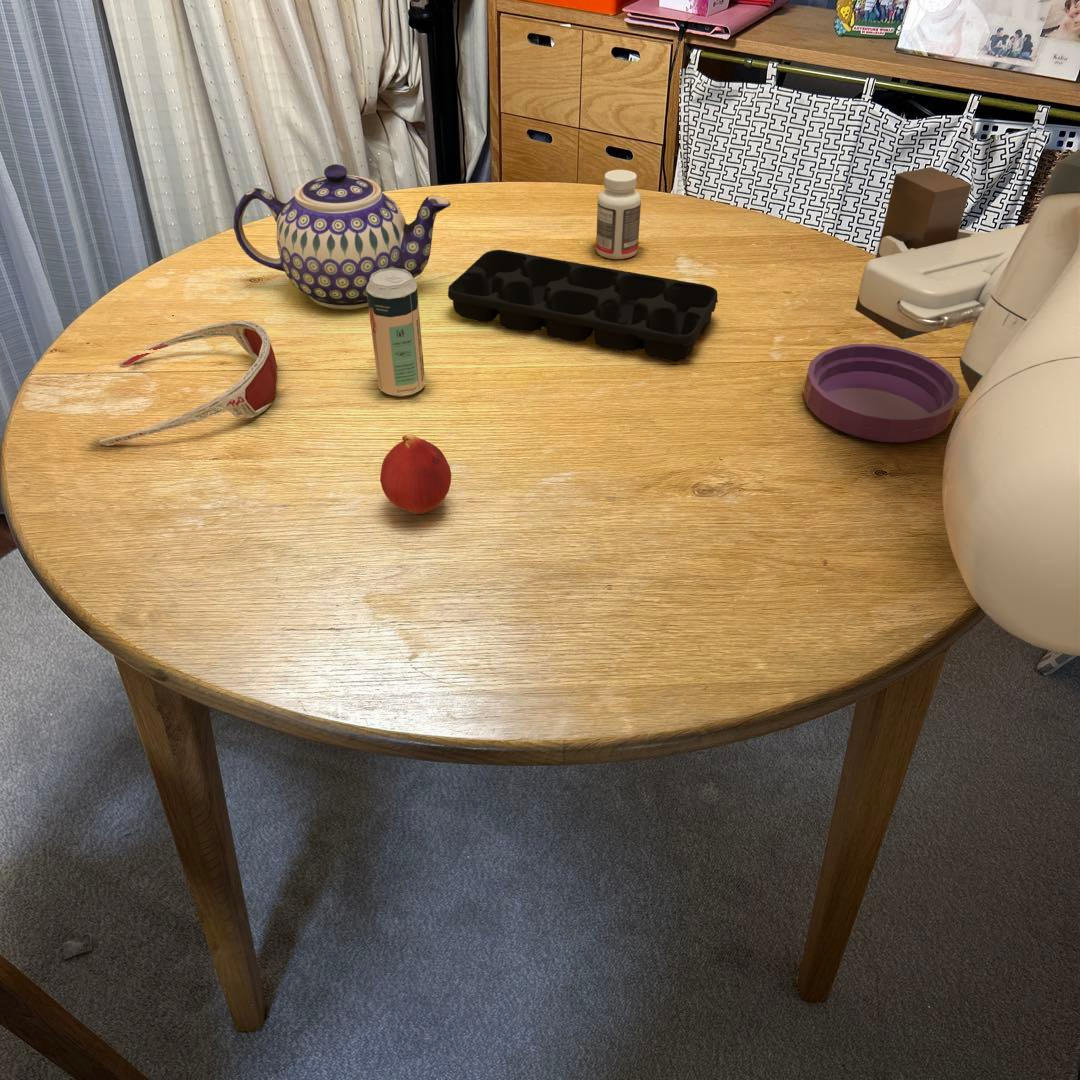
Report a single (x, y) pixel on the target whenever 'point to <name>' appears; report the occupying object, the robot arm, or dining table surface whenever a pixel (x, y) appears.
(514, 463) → the dining table surface
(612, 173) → the pill bottle
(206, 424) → the dining table surface
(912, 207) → the brown rectangular block
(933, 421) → the purple round dish
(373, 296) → the beer can
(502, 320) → the black muffin tray
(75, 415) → the dining table surface
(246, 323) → the sunglasses
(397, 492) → the onion
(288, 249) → the teapot
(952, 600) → the dining table surface
